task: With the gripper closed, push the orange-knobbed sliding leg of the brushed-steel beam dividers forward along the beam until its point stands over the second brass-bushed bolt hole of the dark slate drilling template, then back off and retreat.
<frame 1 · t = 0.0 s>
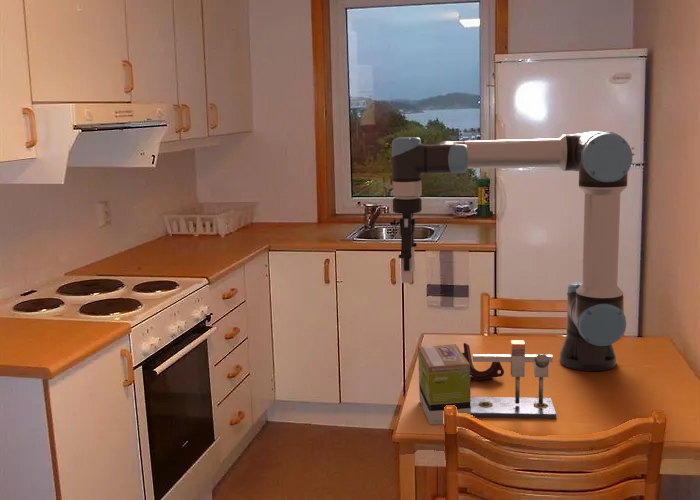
hand: (408, 276, 205), 28 cm above the table, fingers open, 13 cm apart
bracket: (470, 378, 209), on the table
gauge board: (510, 409, 186), on the table
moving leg: (517, 372, 184), point 9 cm above the table, slide at 0.0 cm
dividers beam: (511, 409, 186), resting on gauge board
tea box: (444, 413, 186), on the table
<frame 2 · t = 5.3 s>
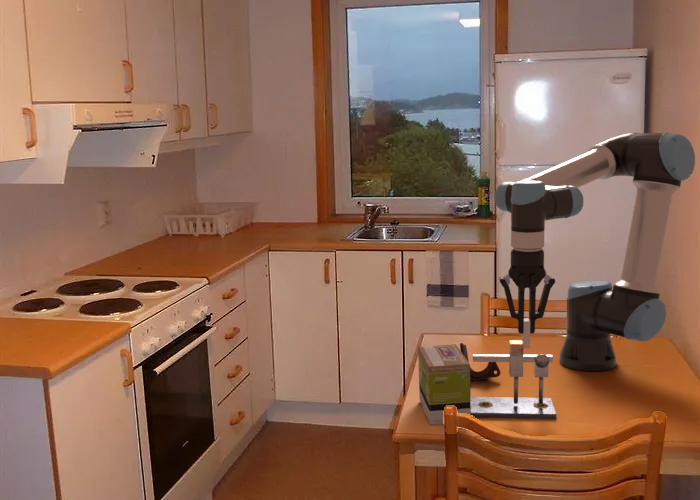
hand: (526, 346, 183), 16 cm above the table, fingers closed
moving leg: (516, 372, 184), point 9 cm above the table, slide at 0.3 cm, touching gripper
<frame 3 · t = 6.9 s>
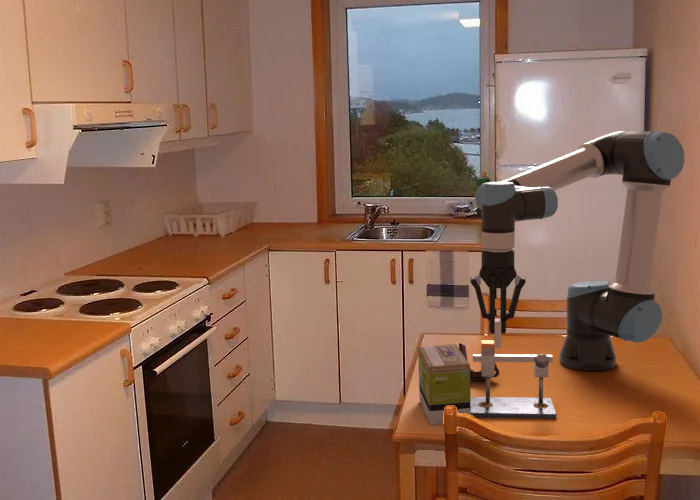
hand: (497, 346, 184), 16 cm above the table, fingers closed
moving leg: (487, 372, 185), point 9 cm above the table, slide at 7.0 cm, touching gripper
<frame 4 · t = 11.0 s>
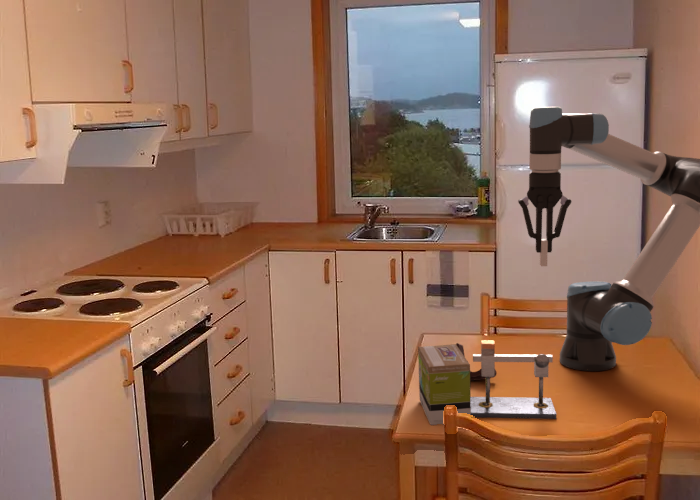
hand: (543, 265, 194), 32 cm above the table, fingers closed
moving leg: (487, 372, 185), point 9 cm above the table, slide at 7.0 cm
at the end: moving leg slide at 7.0 cm; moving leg 0.5 cm from the target spot on the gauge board, point 9.4 cm above the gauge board's base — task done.
